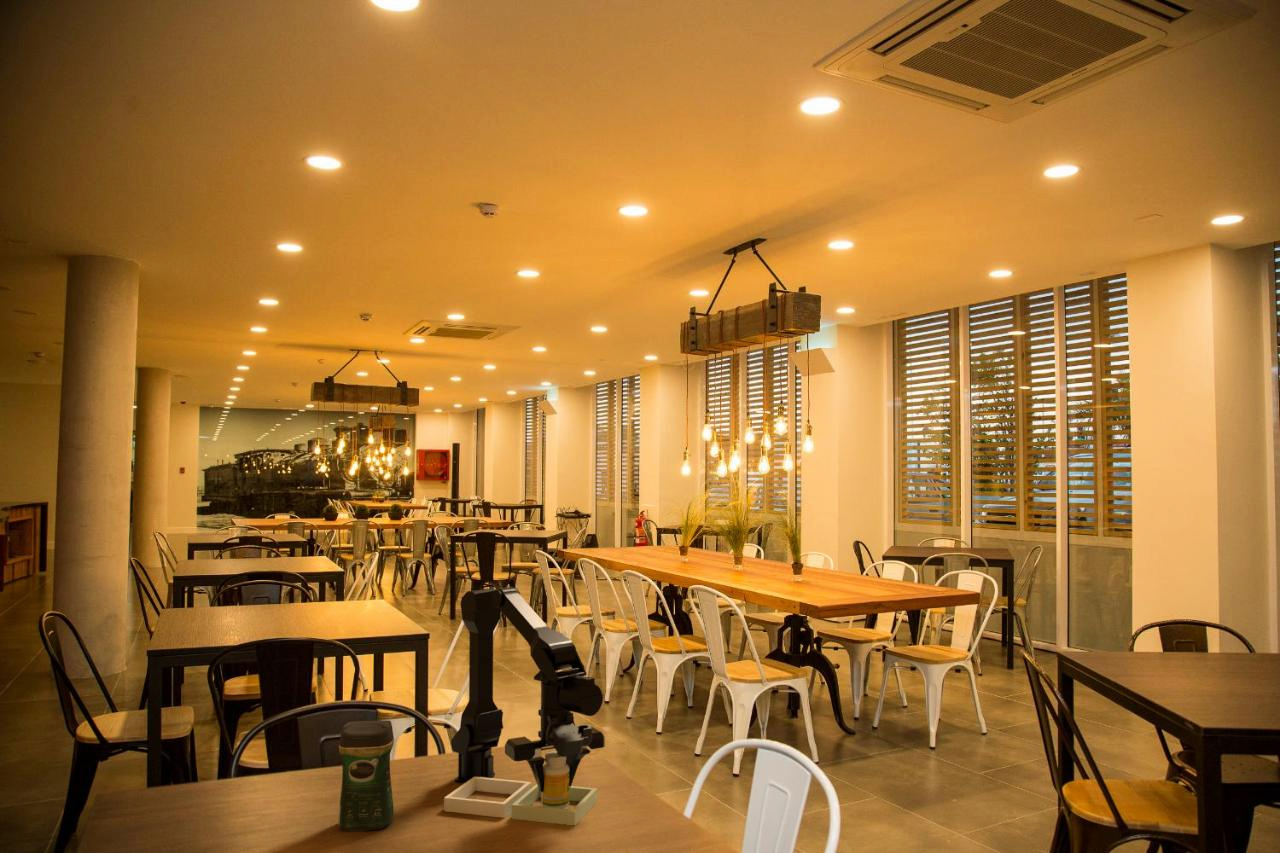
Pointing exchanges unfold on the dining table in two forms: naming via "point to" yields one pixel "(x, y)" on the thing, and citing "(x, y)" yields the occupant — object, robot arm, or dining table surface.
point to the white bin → (482, 807)
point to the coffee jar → (366, 775)
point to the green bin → (554, 815)
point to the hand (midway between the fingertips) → (555, 788)
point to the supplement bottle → (555, 781)
